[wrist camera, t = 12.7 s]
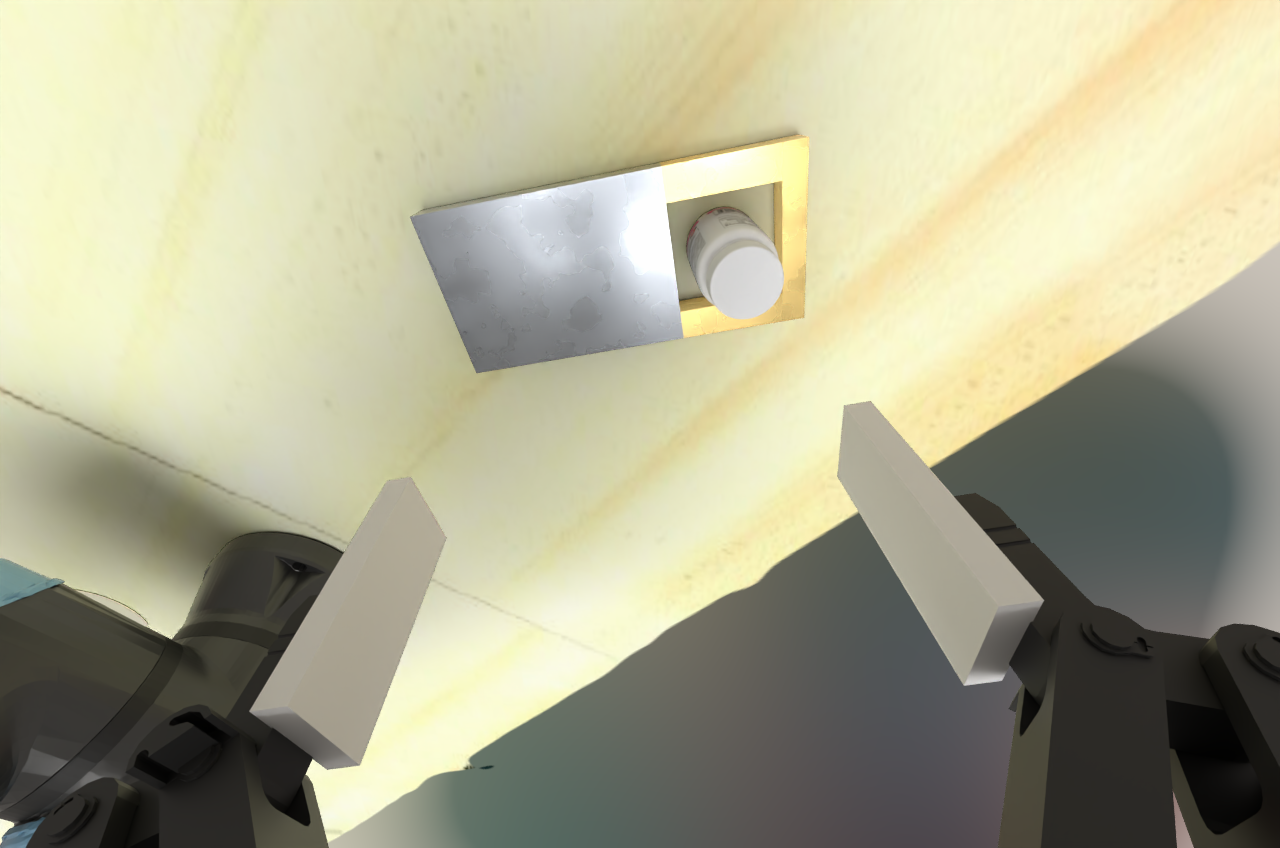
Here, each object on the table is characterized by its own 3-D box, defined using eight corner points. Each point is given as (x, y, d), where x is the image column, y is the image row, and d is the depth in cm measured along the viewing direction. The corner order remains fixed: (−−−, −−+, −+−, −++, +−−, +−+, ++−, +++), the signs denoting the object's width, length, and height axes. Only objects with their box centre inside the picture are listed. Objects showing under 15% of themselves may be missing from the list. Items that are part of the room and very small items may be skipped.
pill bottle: (713, 292, 34) (735, 343, 27) (671, 240, 32) (683, 281, 25) (769, 246, 32) (808, 288, 25) (729, 189, 30) (759, 217, 23)
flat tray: (483, 360, 37) (476, 373, 35) (421, 210, 30) (409, 216, 29) (795, 306, 35) (804, 317, 33) (798, 134, 28) (809, 136, 27)
